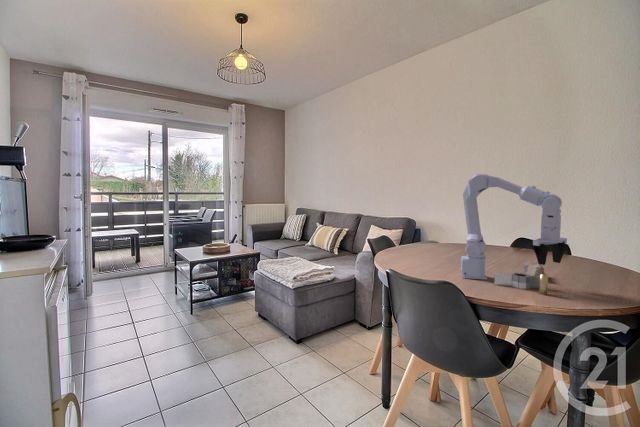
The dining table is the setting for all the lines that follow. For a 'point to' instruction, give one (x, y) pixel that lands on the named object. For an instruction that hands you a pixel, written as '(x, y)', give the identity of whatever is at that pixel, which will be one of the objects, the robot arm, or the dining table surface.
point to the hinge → (517, 280)
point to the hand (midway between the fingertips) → (549, 263)
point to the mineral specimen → (533, 269)
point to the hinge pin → (543, 284)
